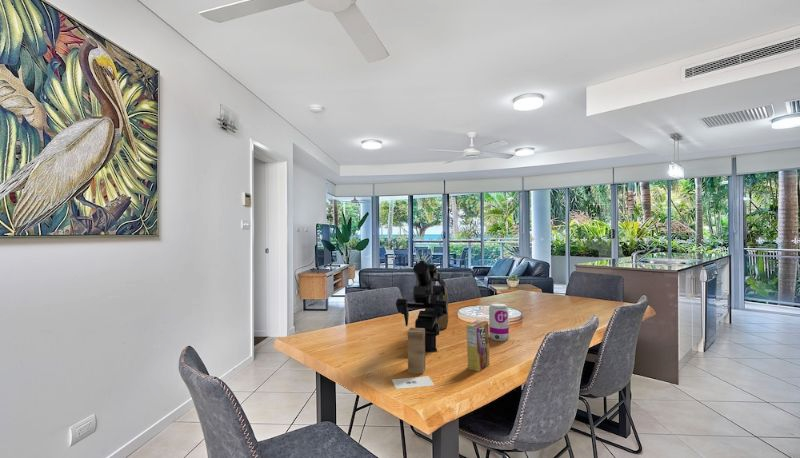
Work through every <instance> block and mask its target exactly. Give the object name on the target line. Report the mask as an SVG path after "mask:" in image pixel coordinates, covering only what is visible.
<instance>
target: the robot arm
mask: <svg viewBox="0 0 800 458" xmlns="http://www.w3.org/2000/svg"><path fill="white" fill-rule="evenodd" d="M425 261H426V260H419V262H417V263H415V264H414V266H413V267H412V270H413V274H414V278H415V281H416V282H417V284H416V285H414V286H413V288H412V289H413V292H412V296H413V301H414V302H413V301H412V302H411V301H409V300H408V298H404V297H403V298H402V297H401V298H397V299H396V300H395V307H396V309H397V312H399V313H400V314H401V315H403V317H404V318H403V319H404V323H405V327H408V325H409V315H410V313H409V310H410V309H421V310H419V312H418V314H417V318H416V319H415V321H414V328H425V353H426V352H427V353H428V352H438V348H437V336H439V335H440V329H439V325H438V323H437V320H438V319H439V318H440V317H441V316H443V315H444V314H447V311H448V312H449V307H448V308H447V301H446V300H443V299H444V296H446V289H447V287H446V282H445V281H444V279H443V278H442V276H441V275H442V274H441V272H439V269H438V268H437V266H436V264H435V263H426V262H425ZM433 282H438V283H439V285H438V284H437V285H436V284H433Z"/></svg>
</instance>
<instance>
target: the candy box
mask: <svg viewBox="0 0 800 458" xmlns="http://www.w3.org/2000/svg"><path fill="white" fill-rule="evenodd" d="M489 338H490V336H489V320H488V321H487V320H482V319H481V320H480V319H478V320H475V321H474V322H470V323H469V324H468V323H467V324H466V347H467V348H466V350H467V351H466V352H467V353H466V354H467V369H468V370H471V371H475V372H478V373H479V372H480V371H482V370H483V369H485V368H486V367H488V366H489V365H491V364H490V363H491V362H490V342H489Z"/></svg>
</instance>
